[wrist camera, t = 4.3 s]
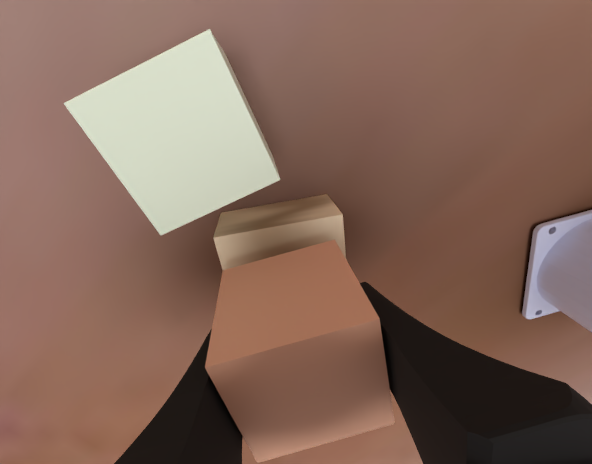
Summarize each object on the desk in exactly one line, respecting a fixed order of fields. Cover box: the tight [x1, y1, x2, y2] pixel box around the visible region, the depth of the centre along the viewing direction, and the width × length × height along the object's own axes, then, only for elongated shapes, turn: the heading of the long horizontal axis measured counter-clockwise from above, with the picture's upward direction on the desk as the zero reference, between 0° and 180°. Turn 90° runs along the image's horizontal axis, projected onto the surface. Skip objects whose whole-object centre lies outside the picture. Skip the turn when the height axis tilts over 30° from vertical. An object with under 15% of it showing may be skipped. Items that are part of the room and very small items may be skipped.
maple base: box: [213, 194, 346, 270], centre depth 16 cm, size 6×6×4 cm
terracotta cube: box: [205, 240, 395, 463], centre depth 11 cm, size 5×5×5 cm
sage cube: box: [64, 29, 280, 235], centre depth 12 cm, size 5×5×5 cm
